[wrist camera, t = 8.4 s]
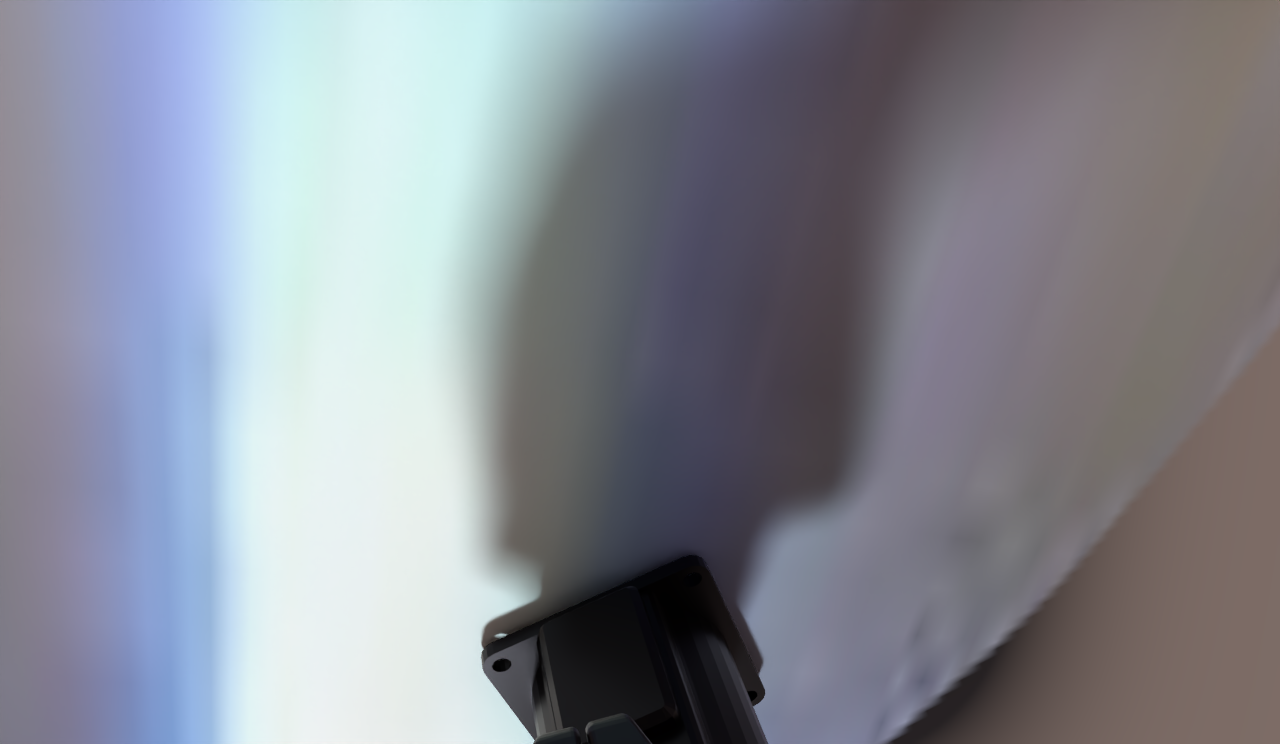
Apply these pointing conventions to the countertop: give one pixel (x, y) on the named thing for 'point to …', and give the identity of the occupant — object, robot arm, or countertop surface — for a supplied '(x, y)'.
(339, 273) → the countertop surface
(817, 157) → the countertop surface
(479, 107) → the countertop surface
